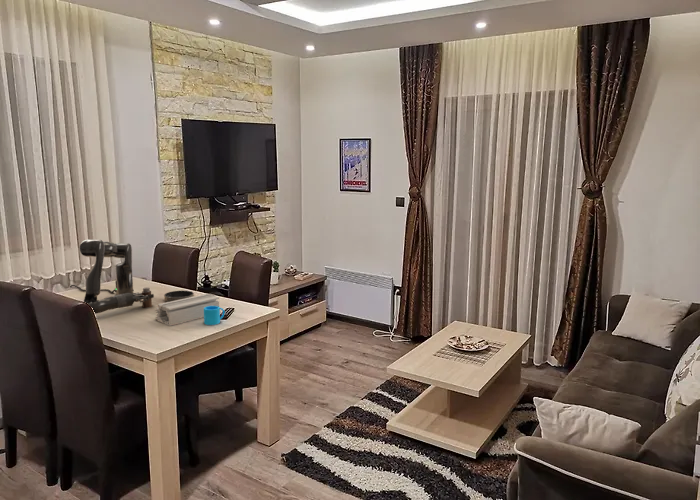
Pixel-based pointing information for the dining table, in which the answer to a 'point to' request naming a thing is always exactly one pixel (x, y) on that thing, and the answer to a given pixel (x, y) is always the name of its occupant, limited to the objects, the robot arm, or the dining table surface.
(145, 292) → the pepper mill
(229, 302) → the dining table surface
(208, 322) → the mug
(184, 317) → the aluminum extrusion profile
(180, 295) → the pan
